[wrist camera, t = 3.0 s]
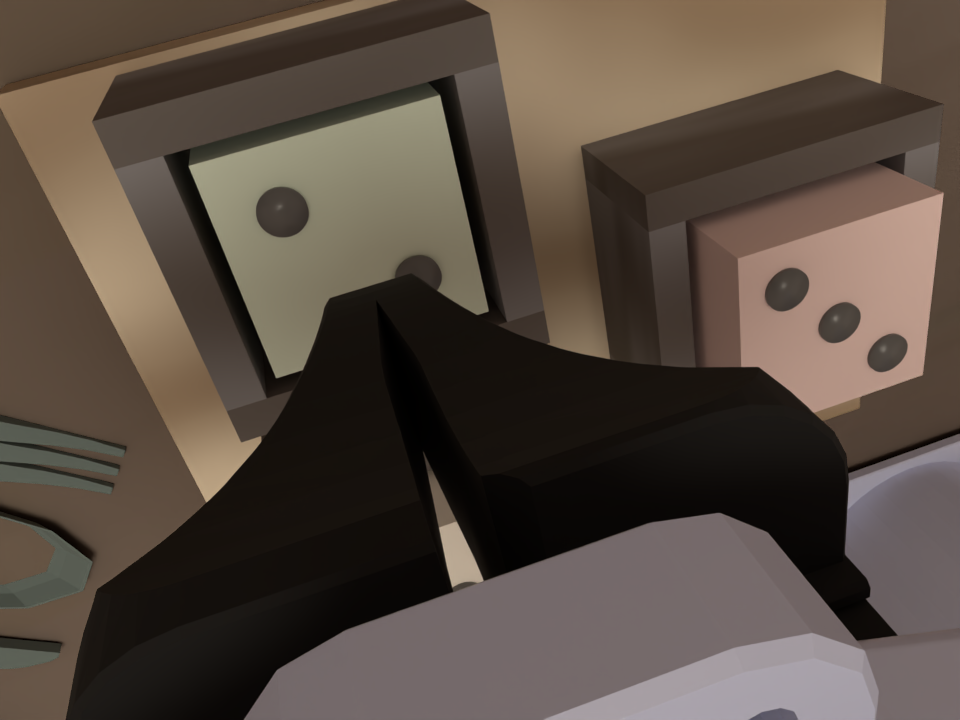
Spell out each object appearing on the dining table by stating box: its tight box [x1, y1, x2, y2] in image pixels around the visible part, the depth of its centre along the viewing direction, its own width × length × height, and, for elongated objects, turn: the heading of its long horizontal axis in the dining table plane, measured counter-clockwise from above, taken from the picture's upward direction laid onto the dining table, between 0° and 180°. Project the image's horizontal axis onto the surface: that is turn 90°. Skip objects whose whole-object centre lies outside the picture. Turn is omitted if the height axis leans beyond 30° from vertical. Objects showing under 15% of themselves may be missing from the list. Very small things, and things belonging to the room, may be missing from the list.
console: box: [0, 0, 944, 502], centre depth 20 cm, size 15×19×4 cm
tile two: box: [189, 82, 489, 378], centre depth 16 cm, size 4×4×3 cm
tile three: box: [685, 162, 944, 413], centre depth 18 cm, size 4×4×3 cm
